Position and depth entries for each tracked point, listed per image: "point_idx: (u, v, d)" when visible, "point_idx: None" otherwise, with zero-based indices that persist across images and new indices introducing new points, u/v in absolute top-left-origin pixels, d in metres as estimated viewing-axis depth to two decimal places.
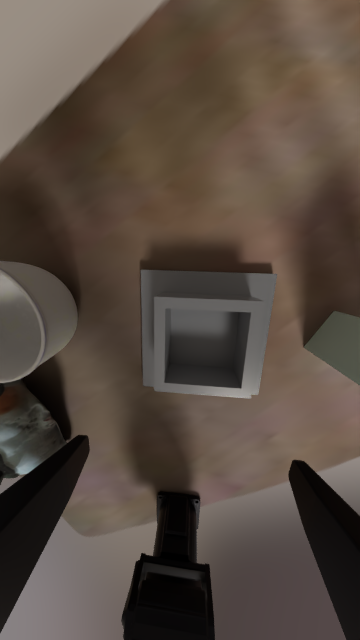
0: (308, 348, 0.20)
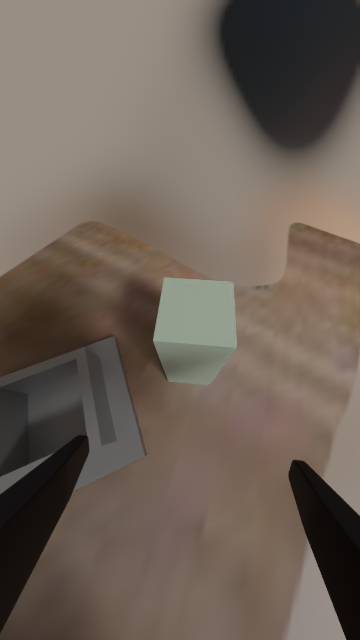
0: (167, 378, 0.22)
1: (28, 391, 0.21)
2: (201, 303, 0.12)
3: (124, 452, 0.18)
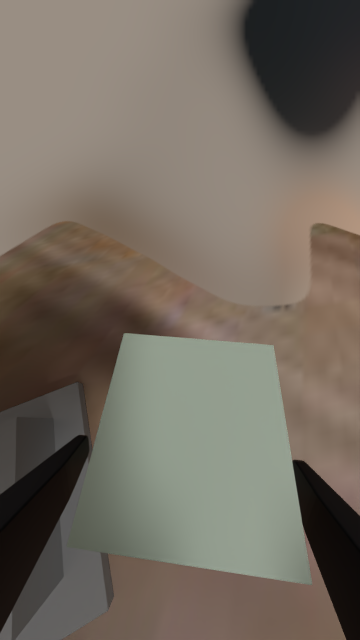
0: None
1: None
2: (205, 408, 0.05)
3: (74, 601, 0.11)
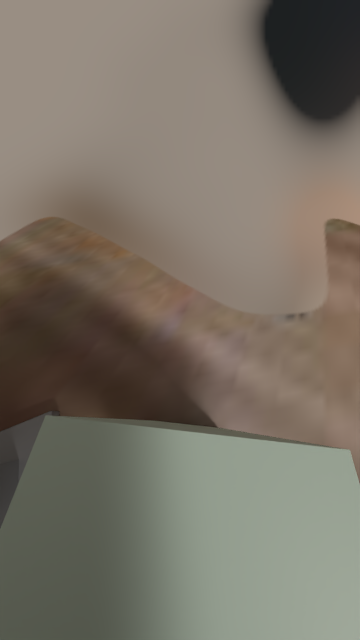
0: None
1: None
2: None
3: None
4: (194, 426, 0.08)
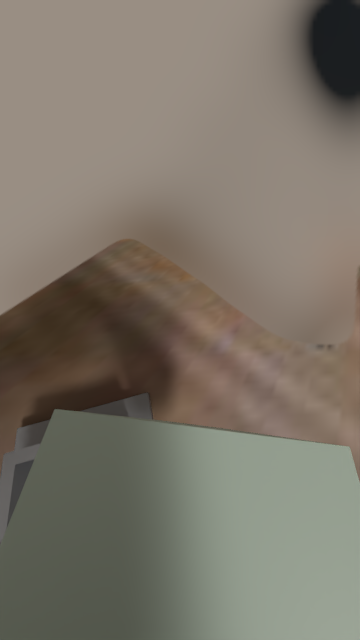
0: None
1: None
2: (207, 639, 0.02)
3: None
4: (197, 425, 0.08)
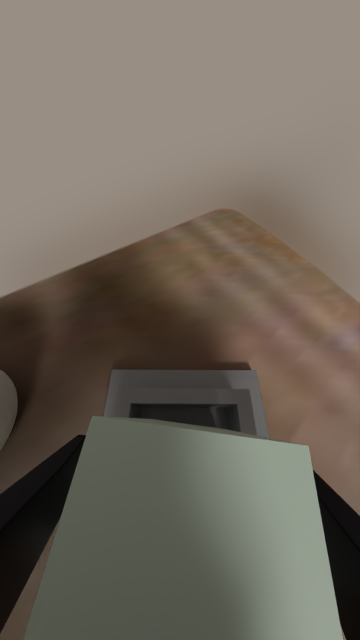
0: None
1: (145, 406, 0.16)
2: (206, 568, 0.03)
3: None
4: None
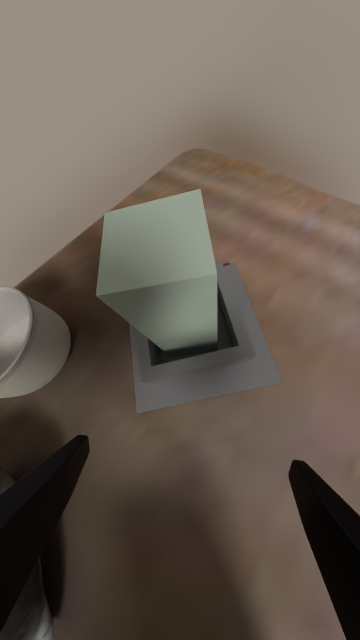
0: None
1: None
2: (158, 229, 0.08)
3: (257, 374, 0.17)
4: None
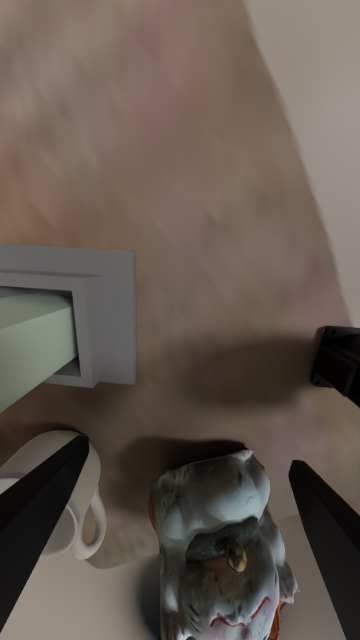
0: None
1: None
2: None
3: (120, 271, 0.17)
4: None
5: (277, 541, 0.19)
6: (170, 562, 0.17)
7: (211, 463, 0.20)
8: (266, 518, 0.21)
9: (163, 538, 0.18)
